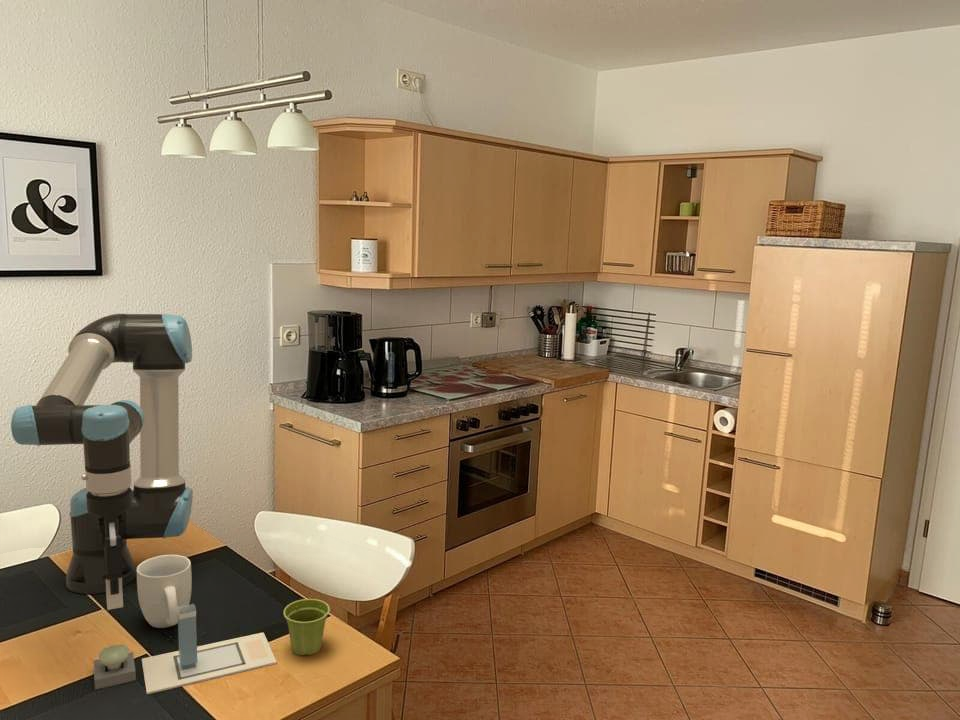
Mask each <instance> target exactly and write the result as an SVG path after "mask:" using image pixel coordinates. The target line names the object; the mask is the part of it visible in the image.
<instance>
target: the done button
mask: <svg viewBox="0 0 960 720" xmlns="http://www.w3.org/2000/svg"><path fill="white" fill-rule="evenodd" d="M129 653H130V651H129V647H128V646H127V645H124V644H114V645H110V646H107V647H105V648H103V649H102V650H100V651H99V653H98V659H99V663H100V664H101V665H104V666H107V669H108V671H112V670H117V669H121V663H122V662H124V661H125V660H126V659H127V658H128V657H129Z"/></svg>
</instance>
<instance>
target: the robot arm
mask: <svg viewBox="0 0 960 720" xmlns="http://www.w3.org/2000/svg"><path fill="white" fill-rule="evenodd" d="M191 337H192V336H191V332H190V328H189V326H188V322H187V321H186V319H185V317H183V316H182V315H178V314H166V313H160V314H159V313H155V314H154V313H143V314H142V313H115V314H109V315H105V316H103V317H100V318H98V319H96V320H93V321H92V322H91V323H89V324H87V325H86V326H84V327H83V328H82V329H80V330H78V332H77V333H76V334H75V335H74V337H72V339H71V341H70V342H69V344H68V350H67V352H68V355H67V356H66V358H65V359H64V361H63V362H62V364H61V366H60V368H59V369H58V370H57V372H56V374H55V375H54V377H53V378H52V380H51V381H50V383H49V384H48V387H46V389H45V390H44V392H43V394H42V396H41V397H40V399H39V400H38V402H37V403H36V404H35V405H32V404H29V405H21V406H18V407H17V408H16V409H14V411H13V413H12V417H11V421H10V422H11V423H10V429H11V430H10V432H11V434H12V438H13V440H14V441H15V443H17V444H18V445H22V446H24V445H25V446H37V447H40V446H53V445H56V446H58V445H83V458H84V469H85V470H84V471H85V474H82V475H81V480H83V481H85V488H82V489H80V490H78V491H77V492H75V494H73V495H72V496H71V498H70V504H69V505H70V512H69V517H70V527H71V543H72V544H71V545H72V554H71V559H70V562H69V565H68V569H67V572H66V576H65V585H66V588H67V589H68V590H69V591H71V592H73V593H76V594H83V595H94V594H95V595H96V594H103V593H106V594H105V595H106V607H107V611H109V610H114V609H119V608H124V595H123V587H125V586H126V585H128V584H130V583H131V582H133V580H134V579H135V578H136V577H137V566H136V563H135V561H134V558H133V556H132V553H131V552H130V550H129V547H128V545H127V544H128V542H127V540H135V539H136V540H138V539H141V540H142V539H161V538H162V539H166V538H173V537H181V536H182V535H183V534H184V533H185V532H186V530H187V528H188V524H189V521H190V517H191V512H192V507H193V489H192V488H190V487H189V486H188V487H186V479H185V478H184V477H183V476H181V474H180V472H179V469H180V465H179V463H180V462H179V461H180V460H179V458H180V456H179V455H180V453H179V452H180V449H179V447H180V446H179V442H180V440H179V439H180V438H179V435H180V434H179V430H180V428H179V423H180V422H179V420H180V419H179V418H180V417H179V415H180V414H179V412H180V411H179V406H180V405H179V377H180V376H181V375H182V374H183V372H184V371H186V364H189V363H190V362H192V360H193V345H192V338H191ZM113 363H114V364H115V363H132V372H134V373H135V374H136V375H137V376H138V378H139V404H137V402H134V401H132V400H128V399H127V400H126V399H121V400H117V401H114V402H112V403H111V404H91V405H90V404H89V405H87V404H86V405H85V403H86V402H87V399H88V398H89V396H90V394H91V392H92V390H93V388H94V387H95V385H96V383H97V381H98V379H99V377H100V375H101V374H102V372H103V371H104V370H106V369H107V368H109V367H110V366H111V364H113ZM139 435H140V436H139ZM137 436H139V439H140V440H139V442H140V443H139V444H140V447H139V448H140V449H139V450H140V453H139V454H140V457H139V458H140V461H139V462H140V466H139V467H140V474H139V475H140V476H139V477H138V478H137V479H136V481H134V483H133V484H132V469H131V468H132V465H131V460H130V459H131V455H130V452H131V451H130V450H131V449H130V444H131V443H132V441H134V439H135V438H136V437H137ZM132 485H133V489H132V488H131V486H132Z"/></svg>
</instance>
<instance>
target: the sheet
mask: <svg viewBox="0 0 960 720" xmlns="http://www.w3.org/2000/svg"><path fill="white" fill-rule="evenodd" d="M277 664H278V663H277V660H276V657H275V655H274V653H273V651H272V649H271V646H270V643H269V641H268V639H267V637H266V635H265V633H264V631H263V632H259V633H253V634H250V635H245V636H240V637H239V636H238V637H235V638H231V639H227V640H221V641H217V642H212V643H208V644H204V645H203V644H202V645H197V663H196V667H192V668H188V669H182V666H181V663H180V659H179V650H176V651H172V652H166V653H162V654H156V655H153V656H148V657H144V658H143V657H142V658H141V665H142V672H143V679H144V683H145V684H144V685H145V690H146V695H151V694H154V693H155V694H156V693H159V692H163V691H167V690H172V689H175V688H176V689H177V688H180V687H184V686H189V685H192V684H193V685H194V684H196V683H197V684H198V683H201V682H206V681H209V680H214V679H218V678H221V677H226V676H230V675H235V674H239V673H243V672H247V671H251V670H254V669H255V670H257V669H259V668H263V667H268V666H271V665H277Z"/></svg>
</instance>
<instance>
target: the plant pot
mask: <svg viewBox="0 0 960 720" xmlns="http://www.w3.org/2000/svg"><path fill="white" fill-rule="evenodd" d="M330 611H331V608H330V606H329V604H328V603H327V602H325V601H324V600H321V599H318V598H302V599H299V600H295V601H292V602H291V603H289V604H287V605H286V606H285V608H284V610H283V617H284V618H285V620H286V623H287V627H288V632H289V633H288V634H289V639H290V647H291V651H292V652H293V653H294V654H295V655H298V656H304V655H309V656H312V655H314V654H316V653H318V652H319V651H320V650H321V648H322V644H323V638H324V632H325V626H326V621H327V620H328V619H327V618H328V615H329V614H330Z"/></svg>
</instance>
